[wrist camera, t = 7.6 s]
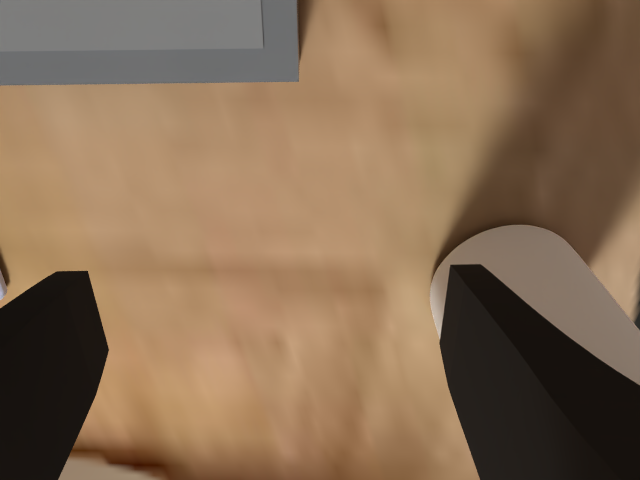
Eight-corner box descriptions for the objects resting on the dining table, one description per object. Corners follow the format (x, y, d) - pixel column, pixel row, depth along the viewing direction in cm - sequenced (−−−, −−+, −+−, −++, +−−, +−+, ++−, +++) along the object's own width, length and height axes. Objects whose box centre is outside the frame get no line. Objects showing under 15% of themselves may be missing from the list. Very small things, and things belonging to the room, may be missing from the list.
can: (442, 214, 22) (562, 480, 12) (598, 223, 22) (849, 489, 12) (415, 338, 25) (490, 631, 15) (552, 344, 26) (717, 635, 15)
